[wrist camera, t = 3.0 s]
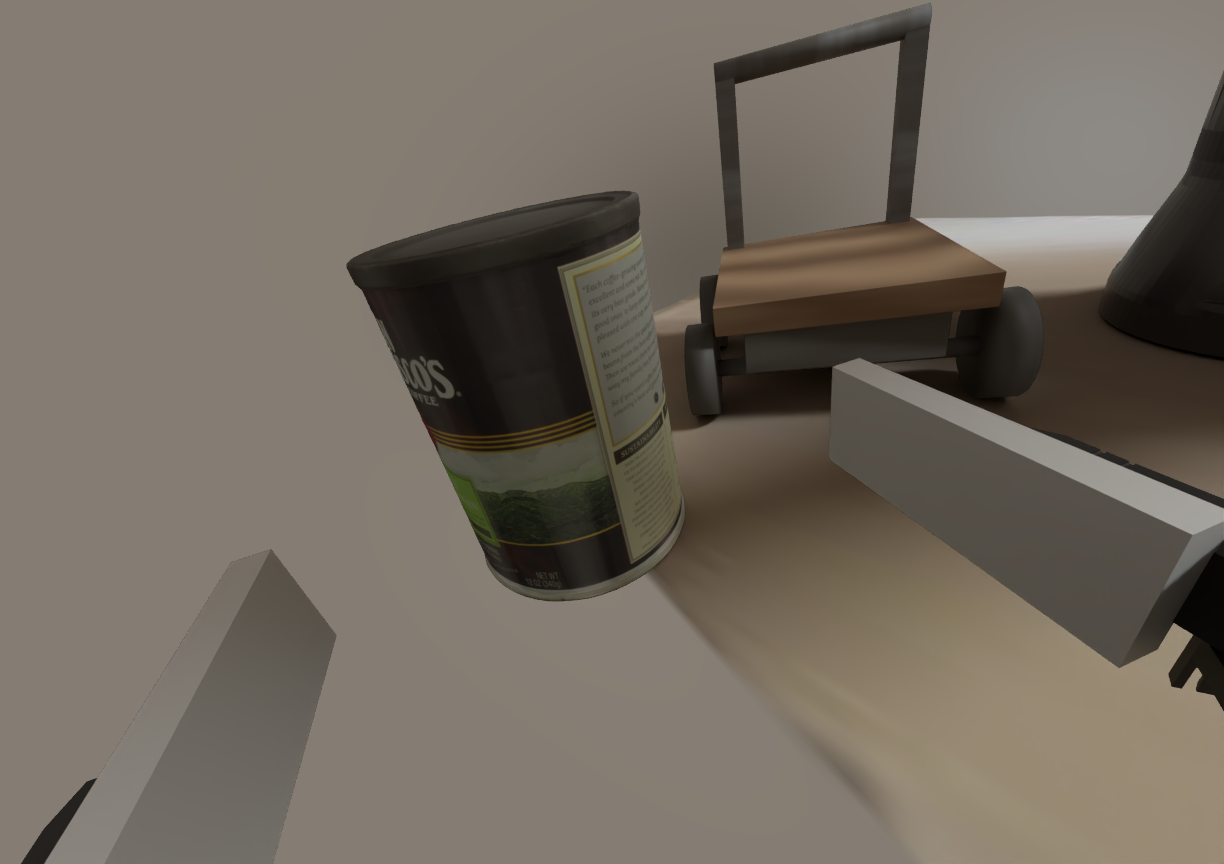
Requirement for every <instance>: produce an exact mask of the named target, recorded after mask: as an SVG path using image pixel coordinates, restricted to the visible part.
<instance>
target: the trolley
mask: <svg viewBox="0 0 1224 864" xmlns="http://www.w3.org/2000/svg"><path fill="white" fill-rule="evenodd" d="M931 16H932V6H931V3H928V4H924V5H921V6H917V7H913V8H909V9H906V10H902V11H899V12H895V13H892V14H888V15H885V16H881V17H877V18H874V19H870V20H867V21H864V22H860V23H856V24H853V25H849V26H845V27H842V28H838V29H835V30H831V31H828V32H824V33H820V34H817V35H813V36H810V37H806V38H803V39H799V40H796V41H792V42H788V43H785V44H781V45H778V46H774V47H771V48H767V49H764V50H760V51H757V52H753V53H749V54H746V55H742V56H739V57H735V58H731V59H728V60H724V61H721V62H717V63H714V74H715V84H716V85H715V86H716V99H717V112H718V125H719V138H720V150H721V163H722V177H723V190H724V202H725V215H726V229H727V241H728V247H725V248H723V253H722V259H721V264H720V270H719V275H712V276H705V277H701V280H700V310H701V322H702V324H695V325H688V326H687V328H686V333H685V372H686V383H687V392H688V398H689V403H690V408H691V411H692V413H693V415H694V416H695V415H712V414H721V412H722V376H732V375H744V374H756V373H768V372H780V371H792V370H804V369H816V368H828V367H833V366H836V365H839V364H843V363H846V362H849V361H852V360H855V359H858V358H861V359H863V360H865V361H868V362H870V363H873V364H875V363H887V362H899V361H911V360H923V359H935V358H947V357H956V363H957V369H958V373H959V377H960V380H961V382H962V385H963V387H964V388H965V390H966V391H967V393H968V394H969V395H970V396H972V397H974V398H994V397H1011V396H1019V395H1021V394H1023V393H1024V392H1026V391H1027V390H1028V389H1029V388H1030V386H1031V385H1032V383H1033V382H1034V380H1035V378H1036V376H1037V373H1038V371H1039V368H1040V364H1041V360H1042V354H1043V345H1044V330H1043V322H1042V316H1041V312H1040V309H1039V306H1038V304H1037V302H1036V300H1035V298H1034V297H1033V295H1032V294H1031V293H1030V292H1029V291H1028V290H1027V289H1025V288H1023V287H1019V286H1017V287H1008V288H1003V286H1004V282H1005V277H1006V271H1005V270H1003V269H1001V268H999V267H998V266H996V265H994V264H992V263H991V262H989V261H987V260H985V259H984V258H982V257H980V256H978V255H977V254H975V253H973V252H971V251H970V250H968V249H966V248H964V247H963V246H961V245H959V244H957V243H956V242H954V241H952V240H950V239H949V238H947V237H945V236H944V235H942V234H940V233H938V232H937V231H935V230H933V229H931V228H930V227H928V226H926V225H924V224H923V223H921V222H919V221H917V220H916V219H914V218H912V217H910V212H911V203H912V193H913V184H914V174H915V165H916V154H917V145H918V136H919V126H920V117H921V107H922V98H923V88H924V78H925V68H926V59H927V50H928V40H929V31H930V23H931ZM896 41H900V52H899V65H898V77H897V89H896V103H895V114H894V127H893V139H892V151H891V163H890V176H889V188H888V189H889V190H888V201H887V212H886V221H884V222H878V223H872V224H866V225H860V226H853V227H847V228H842V229H835V230H829V231H823V232H817V233H811V234H805V235H798V236H793V237H786V238H781V239H774V240H768V241H762V242H756V243H750V244H744V231H743V216H742V215H743V214H742V198H741V180H740V165H739V149H738V148H739V147H738V132H737V131H738V130H737V115H736V97H735V84H737V83H741V82H745V81H748V80H753V79H756V78H760V77H764V76H768V75H771V74H775V73H779V72H783V71H787V70H790V69H794V68H798V67H802V66H806V65H809V64H813V63H816V62H821V61H825V60H828V59H832V58H836V57H840V56H843V55H847V54H851V53H855V52H859V51H862V50H866V49H870V48H874V47H877V46H881V45H885V44H889V43H893V42H896ZM953 311H961V313H960V316H959V320H958V325H957V331H956V338H950V339H948V337H949V331H950V325H951V319H952V313H953ZM740 334H744V338H745V353H746V358H737V359H726V360H721V355H720V346H727V337H728V336H731V335H740Z"/></svg>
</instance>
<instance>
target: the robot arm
mask: <svg viewBox="0 0 1224 864" xmlns="http://www.w3.org/2000/svg"><path fill="white" fill-rule="evenodd" d="M1099 311H1100V313H1101V315H1102V317H1103V318H1104V319H1105V320H1106V321H1108V322H1109V323H1110V324H1112V325H1113V326H1115V327H1117V328H1119V329H1121V330H1123V331H1125V332H1127V333H1129V334H1132V335H1134V336H1137V337H1140V338H1143V339H1146V340H1149V341H1152V342H1155V343H1159V344H1163V345H1166V346H1170V347H1174V348H1178V349H1183V350H1187V351H1192V352H1197V353H1202V354H1207V355H1213V356H1218V357H1224V72H1223V74H1222V77H1221V80H1220V82H1219V85H1218V87H1217V90H1216V93H1215V95H1214V98H1213V101H1212V103H1211V106H1210V109H1209V111H1208V114H1207V117H1206V119H1205V122H1204V125H1203V128H1202V130H1201V133H1200V136H1199V139H1198V141H1197V144H1196V147H1195V150H1194V152H1193V156H1192V158H1191V161H1190V164H1189V166H1188V169H1187V171H1186V173H1185V175H1184V176H1183V178H1182V180H1181V181H1180V182H1179V184H1178V185H1177V187H1176V188H1175V189H1174V191H1173V192H1172V193H1171V194H1170V196H1169V197H1168V199H1167V200H1166V201H1165V202H1164V204H1163V205H1162V206H1161V208H1160V209H1159V210H1158V211H1157V213H1156V214H1155V215H1154V216H1153V218H1152V219H1151V220H1150V222H1149V223H1148V224H1147V226H1146V227H1145V228H1144V230H1143V231H1142V232H1141V234H1140V235H1139V236H1138V238H1137V239H1136V240H1135V242H1134V243H1133V245H1132V246H1131V247H1130V249H1129V250H1128V251H1127V253H1126V254H1125V256H1124V257H1123V259H1122V260H1121V261H1120V262H1119V263H1118V264H1117V265H1116V266H1115V268H1114V269H1113V270H1112V272H1111V274H1110V276H1109V278H1108V281H1107V284H1106V287H1105V290H1104V293H1103V296H1102V300H1101V303H1100V306H1099ZM829 459H830V460H831V461H833V462H834V463H835V464H837V465H838V466H839V467H841V468H842V469H844V470H845V471H846V472H848V473H849V474H851V475H852V476H853V477H855V478H856V479H857V480H859V481H860V482H862V483H863V484H864V485H866V486H867V487H869V488H870V489H871V490H873V491H874V492H876V493H877V494H878V495H880V496H881V497H882V498H884V499H885V500H887V501H888V502H889V503H891V504H892V505H894V506H895V507H896V508H898V509H899V510H900V511H902V512H903V513H905V514H906V515H907V516H909V517H910V518H912V519H913V520H914V521H916V522H917V523H919V524H920V525H921V526H923V527H924V528H925V529H927V530H928V531H930V532H931V533H932V534H934V535H935V536H937V537H938V538H939V539H941V540H942V541H943V542H945V543H946V544H948V545H949V546H950V547H952V548H953V549H955V550H956V551H957V552H959V553H960V554H962V555H963V556H964V557H966V558H967V559H968V560H970V561H971V562H973V563H974V564H975V565H977V566H978V567H980V568H981V569H982V570H984V571H985V572H986V573H988V574H989V575H991V576H992V577H993V578H995V579H996V580H998V581H999V582H1000V583H1002V584H1003V585H1005V586H1006V587H1007V588H1009V589H1010V590H1011V591H1013V592H1014V593H1016V594H1017V595H1018V596H1020V597H1021V598H1023V599H1024V600H1025V601H1027V602H1028V603H1029V604H1031V605H1032V606H1034V607H1035V608H1036V609H1038V610H1039V611H1041V612H1042V613H1043V614H1045V615H1046V616H1048V617H1049V618H1050V619H1052V620H1053V621H1054V622H1056V623H1057V624H1059V625H1060V626H1061V627H1063V628H1064V629H1066V630H1067V631H1068V632H1070V633H1071V634H1072V635H1074V636H1075V637H1077V638H1078V639H1079V640H1081V641H1082V642H1084V643H1085V644H1086V645H1088V646H1089V647H1091V648H1092V649H1093V650H1095V651H1096V652H1097V653H1099V654H1100V655H1102V656H1103V657H1104V658H1106V659H1107V660H1109V661H1110V662H1111V663H1113V664H1114V665H1115V666H1117V667H1118V668H1120V667H1122V666H1124V665H1126V664H1129V663H1131V662H1133V661H1135V660H1137V659H1139V658H1141V657H1143V656H1145V655H1147V654H1149V653H1151V652H1153V651H1155V650H1157V649H1158V648H1159V646H1160V644H1161V643H1162V641H1163V639H1164V638H1165V636H1166V634H1167V633H1168V631H1169V629H1170V628H1171V626H1172V624H1173V623H1175V624H1177V625H1178V626H1180V627H1182V628H1183V629H1185V630H1187V631H1188V632H1190V633H1192V634H1193V636H1192V638H1191V639H1190V641H1189V642H1188V644H1187V646H1186V647H1185V649H1184V650H1183V652H1182V653H1181V655H1180V656H1179V658H1178V659H1177V661H1176V663H1175V664H1174V666H1173V667H1172V669H1171V670H1170V672H1169V678H1170V682H1171V686H1172V687H1176V688H1181V689H1182V687H1183V686H1184V685H1185V683H1186V682H1187V680H1188V679H1189V677H1190V676H1191V674H1192V673H1193V671H1194V670H1195V669H1196V668H1198V669H1199V670H1200V672H1201V674H1202V677H1201V678H1200V679H1199V681H1198V683H1197V686H1196V691H1197V692H1201V693H1206V694H1211V695H1214V696H1215V697H1216V699H1217V701H1218V702H1219V704H1220V706H1221V707H1222V709H1223V711H1224V499H1222V498H1220V497H1217V496H1215V495H1212V494H1210V493H1207V492H1205V491H1202V490H1200V489H1197V488H1195V487H1192V486H1190V485H1187V484H1185V483H1182V482H1180V481H1177V480H1175V479H1172V478H1170V477H1167V476H1165V475H1162V474H1160V473H1157V472H1155V471H1152V470H1150V469H1147V468H1145V467H1143V466H1140V465H1138V464H1135V465H1131V464H1129V461H1128V460H1125V459H1123V458H1120V457H1118V456H1115V455H1113V454H1110V453H1108V452H1106V453H1101V452H1100V449H1098V448H1095V447H1093V446H1090V445H1088V444H1085V443H1083V442H1080V441H1078V440H1075V439H1073V438H1070V437H1068V436H1064V435H1060V434H1055V433H1051V432H1047V431H1042V430H1038V429H1033V428H1028V427H1025V426H1023V425H1020V424H1018V423H1015V422H1013V421H1011V420H1008V419H1006V418H1003V417H1001V416H998V415H996V414H994V413H991V412H989V411H986V410H984V409H982V408H979V407H977V406H974V405H972V404H969V403H967V402H965V401H962V400H960V399H957V398H955V397H953V396H950V395H948V394H945V393H943V392H940V391H938V390H936V389H933V388H931V387H928V386H926V385H923V384H921V383H919V382H916V381H914V380H911V379H909V378H907V377H904V376H902V375H899V374H897V373H894V372H892V371H890V370H887V369H885V368H882V367H880V366H878V365H875V364H873V363H870V362H868V361H865V360H863V359H861V358H858V359H855V360H852V361H849V362H846V363H843V364H839V365H836V366H833V367H832V392H831V419H830V446H829ZM335 639H336V634H335V633H334V632H333V630H332V629H331V628H330V626H329V625H328V623H327V622H326V621H325V619H324V618H323V617H322V616H321V614H320V613H319V612H318V610H317V609H316V608H315V607H314V605H313V604H312V602H311V601H310V600H309V599H308V597H307V596H306V595H305V593H304V592H303V591H302V589H301V588H300V587H299V585H298V584H297V583H296V581H295V580H294V579H293V577H292V576H291V575H290V573H289V572H288V571H287V570H286V568H285V567H284V566H283V564H282V563H281V562H280V560H279V559H278V558H277V556H276V555H275V554H274V553H273V551H272V550H267V551H264V552H261V553H258V554H255V555H252V556H249V557H246V558H243V559H240V560H237V561H233V562H231V563H230V565H229V567H228V568H227V570H226V571H225V573H224V575H223V576H222V578H221V580H220V581H219V583H218V584H217V586H216V588H215V589H214V591H213V593H212V594H211V596H210V597H209V599H208V600H207V602H206V604H205V605H204V607H203V609H202V610H201V612H200V613H199V615H198V617H197V618H196V620H195V621H194V623H193V625H192V627H191V628H190V630H189V631H188V633H187V634H186V636H185V638H184V639H183V641H182V642H181V644H180V646H179V647H178V649H177V651H176V652H175V654H174V655H173V657H172V659H171V660H170V662H169V663H168V665H167V667H166V668H165V670H164V671H163V673H162V675H161V676H160V678H159V680H158V681H157V683H156V684H155V686H154V688H153V689H152V691H151V693H150V694H149V696H148V697H147V699H146V701H145V702H144V704H143V705H142V707H141V709H140V710H139V712H138V714H137V715H136V717H135V718H134V720H133V722H132V723H131V725H130V726H129V728H128V730H127V731H126V733H125V734H124V736H123V738H122V739H121V741H120V743H119V744H118V746H117V747H116V749H115V751H114V752H113V754H112V755H111V757H110V759H109V760H108V762H107V764H106V765H105V767H104V768H103V770H102V772H101V773H100V775H99V776H98V778H96V779H93V780H90V781H88V782H86V783H85V784H84V785H83V787H82V788H81V789H80V790H79V791H78V792H77V793H76V794H75V795H74V796H73V797H72V799H71V800H70V801H69V802H68V803H67V804H66V805H65V806H64V807H63V809H62V810H61V811H60V812H59V813H58V814H57V815H56V816H55V817H54V819H53V820H52V821H51V822H50V823H49V824H48V825H47V826H46V827H45V828H44V830H43V831H42V833H41V834H40V836H39V837H38V839H37V840H36V842H35V843H34V845H33V846H32V848H31V850H30V851H29V852H28V854H27V855H26V857H25V859H24V860H23V862H22V863H21V864H273V861H274V857H275V854H276V850H277V847H278V843H279V839H280V836H281V832H282V828H283V825H284V821H285V818H286V814H287V811H288V807H289V804H290V800H291V796H292V793H293V789H294V786H295V782H296V779H297V774H298V771H299V768H300V764H301V761H302V757H303V753H304V750H305V746H306V743H307V739H308V736H309V732H310V728H311V725H312V721H313V718H314V713H315V710H316V707H317V703H318V700H319V696H320V693H321V689H322V685H323V682H324V678H325V675H326V671H327V668H328V664H329V660H330V657H331V653H332V650H333V646H334V642H335Z"/></svg>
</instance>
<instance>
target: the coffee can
mask: <svg viewBox="0 0 1224 864" xmlns="http://www.w3.org/2000/svg"><path fill="white" fill-rule="evenodd" d="M639 216H640V203H639V196H638V194H637V193H636V192H631V191H611V192H603V193H596V194H589V195H583V196H577V197H572V198H566V199H561V200H555V201H550V202H546V203H541V204H537V205H531V206H526V207H522V208H517V209H513V210H510V211H505V212H501V213H496V214H492V215H488V216H484V217H480V218H476V219H472V220H469V221H464V222H461V223H458V224H452V225H448V226H446V227H442V228H438V229H435V230H431V231H428V232H425V233H421V234H417V235H414V236H411V237H408V238H405V239H402V240H399V241H394V242H392V243H388V244H386V245H383V246H380V247H378V248H375V249H372V250H369V251H367V252H364V253H362V254H360V255H358V256H356V257H354V258H353V259H351V260H350V261H349V262H348V263H347V269H348V271H349V273H350V275H351V277H352V279H353V281H354V283H355V285H357V286H358V287H359V288H360V289H361V290H362V291H363V293H364V295H365V297H366V300H367V302H368V304H369V306H370V309H371V311H372V312H373V314H374V316H375V318H376V321H377V323H378V325H379V328H380V330H381V332H382V334H383V336H384V338H385V340H386V342H387V345H388V347H389V348H390V351H391V353H392V355H393V358H394V359H395V361H396V364H397V366H398V368H399V370H400V373H401V375H402V377H403V379H404V381H405V383H406V385H407V387H408V390H409V392H410V394H411V396H412V398H413V401H414V402H415V405H416V407H417V409H418V411H419V413H420V415H421V418H422V421H423V423H424V424H425V426H426V428H427V430H428V433H429V435H430V437H431V439H432V441H433V443H434V445H435V447H436V450H437V452H438V454H439V456H440V458H441V461H442V463H443V465H444V467H445V469H446V471H447V473H448V475H449V477H450V480H451V482H452V484H453V486H454V489H455V491H456V493H457V495H458V497H459V499H460V501H461V503H462V506H463V508H464V510H465V512H466V514H467V516H468V518H469V521H470V523H471V526H472V527H473V529H474V532H475V534H476V536H477V539H478V540H479V543H480V545H481V547H482V549H483V551H484V553H485V558H486V562H487V565H488V567H489V569H490V571H491V572H492V574H493V575H494V576H495V578H496V579H497V580H498V581H499V582H500V583H502V584H503V585H504V586H505V587H507V588H509V589H510V590H512V591H514V592H516V593H518V594H520V595H523V596H526V597H529V598H533V599H538V600H544V601H571V600H581V599H587V598H592V597H596V596H599V595H603V594H606V593H608V592H611V591H614V590H617V589H619V588H621V587H623V586H625V585H627V584H629V583H631V582H633V581H635V580H636V579H638V578H640V577H641V576H643V575H644V574H646V573H647V572H648V571H650V570H651V569H652V568H653V567H654V566H656V565H657V564H658V563H659V562H660V561H661V560H662V559H663V558H664V557H665V556H666V555H667V553H668V552H669V551H670V550H671V548H672V546H673V545H674V543H675V542H676V540H677V538H678V536H679V534H680V532H681V529H682V527H683V523H684V521H685V503H684V498H683V495H682V492H681V488H680V483H679V477H678V470H677V464H676V458H675V451H674V445H673V438H672V432H671V425H670V419H669V413H668V407H667V401H666V393H665V388H664V382H663V375H662V369H661V362H660V356H659V349H658V343H657V337H656V330H655V324H654V317H653V311H652V304H651V298H650V292H649V285H648V279H647V272H646V265H645V259H644V252H643V246H642V240H641V233H640V228H639Z"/></svg>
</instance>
